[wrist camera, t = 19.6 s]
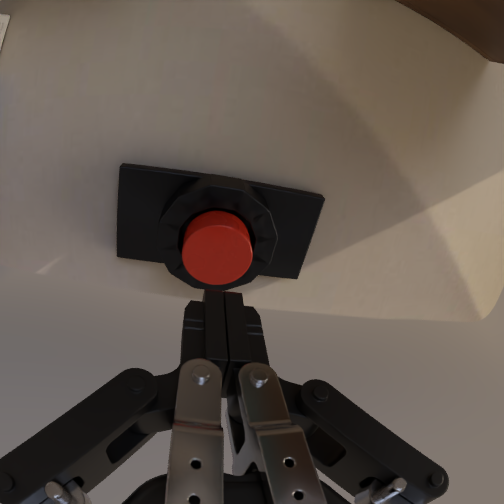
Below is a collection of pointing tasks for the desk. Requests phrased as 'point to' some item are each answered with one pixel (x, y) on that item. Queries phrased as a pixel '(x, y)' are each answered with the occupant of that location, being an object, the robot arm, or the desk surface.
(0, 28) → the ink box
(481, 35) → the cabinet
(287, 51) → the desk surface
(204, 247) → the button
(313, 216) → the button box
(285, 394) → the robot arm
